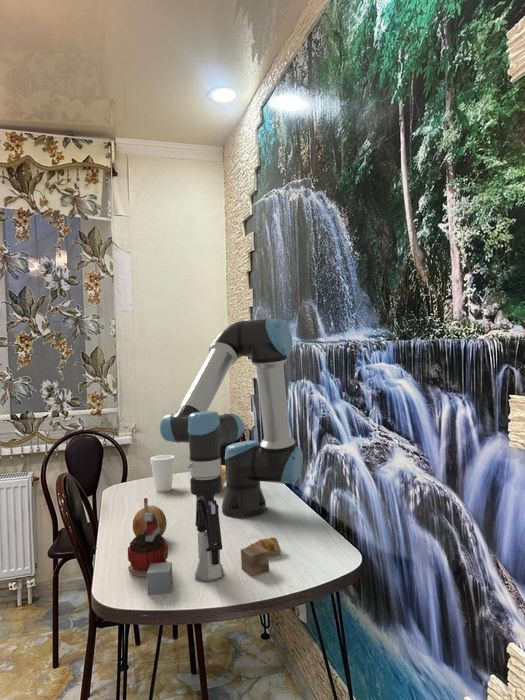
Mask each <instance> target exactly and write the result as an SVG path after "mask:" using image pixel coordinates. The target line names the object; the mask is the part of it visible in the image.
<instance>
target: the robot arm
mask: <svg viewBox="0 0 525 700" xmlns="http://www.w3.org/2000/svg"><path fill="white" fill-rule="evenodd" d="M292 351H293V336H292V332H291V329H290V327H289V326H288V324H287V322H286V321H284V320H283V319H281V318H263V319H254V320H240V321H237V322H234V323H232V324H230V325H228V326H227V327H225V328H224V329H223V330H222V331H221V332H220V333H219V334H217V336H216V337H214V340H213V341H212V342H211V344H210V346H209V347H208V353H209V354H208V356H207V358H206V360H205V361H204V363H203V365H202V367H201V368H200V370H199V372H198V374H197V375H196V377H195V379H194V381H193V382H192V384H191V386H190V388H189V390H188V391H187V393H186V395H185V396H184V398H183V400H182V402H181V403H180V406H179V407H178V408H177V410H176V412H175V413H170V414H169V413H168V414H167V415H166V414H165V416H163V417H162V419H161V421H160V426H159V431H160V435H161V437H162V438H163V440H165V441H166V442H172V443H178V444H180V443H187V444H188V450H189V462H190V463H188V464H187V468H188V469H189V472H190V474H189V476H191V478H190V493H191V494H192V495H193V496H196V498H195V499H196V503H195V505H196V507H195V508H196V509H195V522H194V523H195V524H194V525H195V527H197V528H196V530H197V545H198V546H197V549H198V552H197V553H198V554H197V555H198V559H199V560H200V556H201V552H202V547H203V538H202V534H203V533H204V532H207V538H208V545H209V548H207V549H206V552H207V551H208V571H209V579H212V578H217V577H221V565H222V564H221V565H220V563H221V550H223V544H222V543H223V541H222V535H221V525H220V524H221V523H220V515H219V514H220V513H219V511H220V510H219V509H220V506H219V504H218V503H217V500H215V498H214V497H215V495H217V494H220V492H221V491H222V481H221V476H220V474H221V465H222V457H221V447H222V446H225V445H227V446H226V448H225V449H224V450H225V452H224V453H225V454H224V460H225V461H224V463H225V464H224V466H225V468H226V482H225V484H226V485H225V486H226V487H225V488H226V489H225V493H224V497H223V499H222V504H221V512H222V514H223V515H225V516H228V517H233V518H249V517H254V516H255V517H256V516H260V515H261V514H264V513H265V512H266V511H267V502H266V499H265V496H264V494H263V491H262V487H261V482H264V483H265V482H267V483H276V484H277V483H278V484H293V483H295V482H297V480H299V478H300V475H301V472H302V468H303V463H304V462H303V461H304V457H303V456H304V453H303V450H302V448H301V447H299V446H296V439H294V437H292V436H291V434H290V433H291V432H290V424H289V423H290V421H289V412H288V402H287V390H286V379H285V378H286V377H285V369H284V364H285V363H286V362H287V361H288V356H289V355H290V354H291V353H292ZM242 357H250V358H251V364H252V365H254V366H255V367H256V371H257V381H258V391H259V392H258V393H259V401H260V402H259V403H260V412H261V421H262V431H263V439H262V440H261V442H259V440H244V441H239V442H235V441H237V440H238V439H240V438H241V437H242V435H243V433H244V428H245V427H244V423H243V420H242V419H241V417H240V416H239V415H237V414H235V413H224V414H219V413H218V412H217V411H214V410H213V411H212V410H211V411H210V410H209V408H210V406H211V405H212V402H213V400H214V399H215V396H216V395H217V392H218V391H219V389H220V387H221V384H222V382H223V381H224V379H225V378H226V375H227V373H228V371H229V369H230V367H231V366H233V365H234V364H236V362H237V360H238V359H240V358H242ZM231 443H232V444H231ZM228 444H229V445H228ZM221 493H222V492H221ZM221 578H222V577H221Z"/></svg>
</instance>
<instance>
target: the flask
mask: <svg viewBox="0 0 525 700" xmlns="http://www.w3.org/2000/svg"><path fill="white" fill-rule="evenodd" d="M202 538H203V547H202V552H201V556H200V559H199V560H198V563H197V567H196V571H195V576H194V579H195V580H197V581H201V582H212V581H218V580H220V579H221V578H222V577H223V576H225V574H224V568H223V565H222V563H221V562H220V565H221V577H217V578H212V579H209V571H208V551H207V552H206V549H207V548H209V545H208V538H207V532H204V533H203V534H202Z"/></svg>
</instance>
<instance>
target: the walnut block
mask: <svg viewBox="0 0 525 700" xmlns="http://www.w3.org/2000/svg"><path fill="white" fill-rule="evenodd" d="M247 547H248V546H247ZM269 558H270V557H268V551H267V550H266V549H264V548H263V547H261V546H260V545H255V546H251V547H248V548H246V547H244V548H241V549H240V561H241V563H240V566H241V570H242V571H243V572H244V573H246V574H247V575H248V576H249V577H251V578H253V577H256V576H259V575H262V574H265V573H270V561H269Z"/></svg>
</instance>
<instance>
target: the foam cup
mask: <svg viewBox="0 0 525 700" xmlns="http://www.w3.org/2000/svg"><path fill="white" fill-rule="evenodd" d="M150 466H151V470H152V478H153V484H154V489H155V491H156V492H159V493H161V492H164V493H165V492H168V491H171V490H172V487H173V480H174V479H173V478H174V469H175V467H174V466H175V456H174V455H173V454H171V455H170V454H161V455H155V456H152V457H150Z"/></svg>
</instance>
